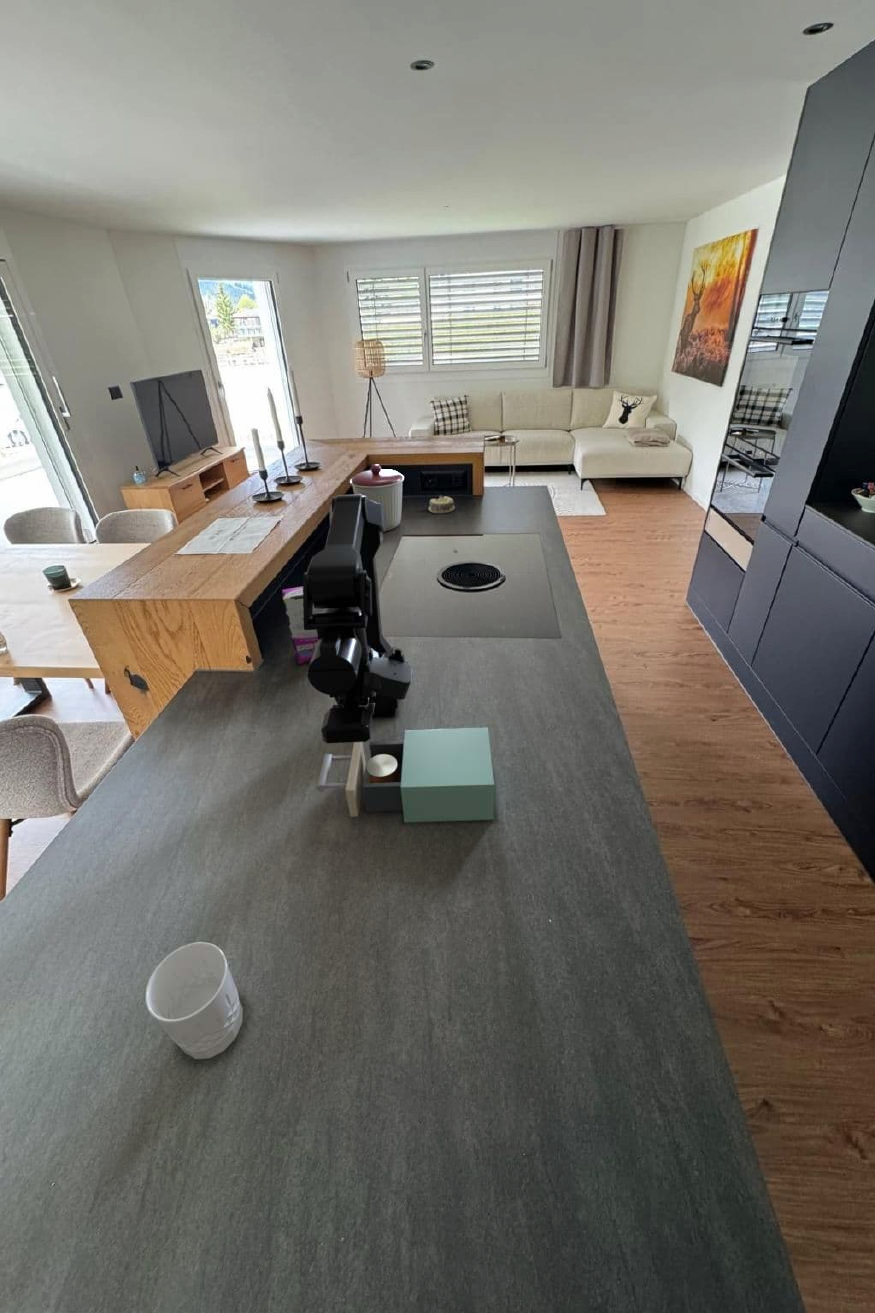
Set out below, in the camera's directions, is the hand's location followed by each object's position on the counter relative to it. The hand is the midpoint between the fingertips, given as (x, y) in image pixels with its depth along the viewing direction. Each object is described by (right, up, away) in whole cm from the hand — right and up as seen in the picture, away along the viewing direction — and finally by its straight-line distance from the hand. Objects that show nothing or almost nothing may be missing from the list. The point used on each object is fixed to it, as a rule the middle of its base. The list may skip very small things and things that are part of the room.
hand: (360, 737), depth 84 cm
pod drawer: (+2, -9, +6) cm, 11 cm away
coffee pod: (+3, -8, +6) cm, 10 cm away
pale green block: (+13, -10, +6) cm, 18 cm away
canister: (-8, +57, +110) cm, 124 cm away
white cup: (-14, -29, -21) cm, 39 cm away
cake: (+13, +67, +123) cm, 140 cm away
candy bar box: (-15, +12, +42) cm, 46 cm away
